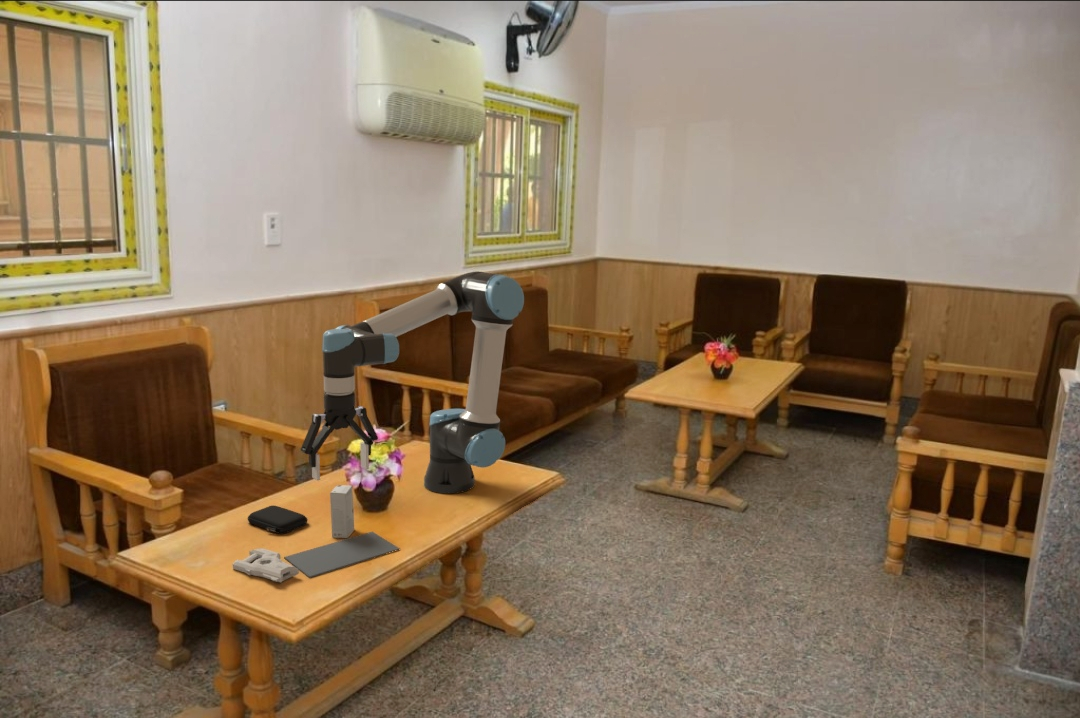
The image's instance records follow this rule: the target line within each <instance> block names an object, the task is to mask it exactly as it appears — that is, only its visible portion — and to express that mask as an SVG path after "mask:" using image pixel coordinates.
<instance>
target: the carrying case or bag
mask: <svg viewBox="0 0 1080 718" xmlns="http://www.w3.org/2000/svg"><path fill="white" fill-rule="evenodd" d="M247 521H248V522H249V524H252V525H254V526H256V527H259V528H262V529H265V530H266V531H267V532H273V533H276V534H281V535H282V534H283V535H284V534H287V533H289V532H292V531H295V530H297V529H299V528H302V527H304V526H305V525H306V524H307V523H308V522H309V521H308V517H306V515H304V514H302V513H299V512H298V511H293V510H290V509H288V508H285V507H280V506H278V505H269V506H266V507H264V508H261V509H258V510H256V511H253V512H251V513H250V514H249V515H248V516H247Z"/></svg>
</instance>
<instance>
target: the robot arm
mask: <svg viewBox="0 0 1080 718" xmlns="http://www.w3.org/2000/svg"><path fill="white" fill-rule="evenodd" d="M524 304H525V295H524V290H523V289H522V287H521V285H520V283H519V282H518V281H517V280H515V279H514V278H512V277H510V276H507V275H503V274H501V273H499V274H496V273H489V272H484V271H470V272H467V273H464V274H461V275H458V276H456V277H453V278H451V279H448V280H446V281H444V282H441V283H439V284H438V285H437V287H436V288H435V290H433V291H429V292H428V293H425V294H423V295H421V296H418V297H415V298H413V299H412V300H409V301H407V302H404V303H402V304H400V305H397V306H396V307H393V308H390V309H388V310H386V311H383V312H382V313H379V314H376V315H375V316H372V317H370V318H367V319H366V320H363V321H361V322H358V323H356V324H353V325H349V324H347V325H342V324H341V325H339V326H337V327H335V328H334V329H333V328H332V329H328V330H326V331H325V332H324V333H323V334H322V348H321V351H322V364H323V365H322V367H323V391H324V393H323V406H324V412H323V413H322V414H317V413H313V414H312V416H311V423H310V426H309V428H308V429H307V430H308V431H307V433H306V435H305V438H304V440H303V442H302V445H301V447H300V452H302V453H303V454H305V455H308V466H309V467H310V468H311V477H312V479H314V480H316V481H321V463H320V461H321V460H320V453H318V452H319V450H320V449H321V448H322V446H323V444H324V443H326V440H327V439H328V437H329V435H330V434H331V433H333V431H334V430H336V431H338V430H340V429H347V428H348V427H350V428H351V429H352V430H353V432H354V433H355V434H356V435H357V436H358V437H359V438H360V439H361V441H363V442H360V468H362V469H365V470H366V471H367V470H369V468H370V467H369V466H370V465H369V463H370V462H369V461H370V460H369V457H370V456H371V455H372V445H373V444H374V442H375V441H378V439H379V436H378V434H377V432H376V431H375V428H374V426H373V424H372V422H371V420H370V419H369V416H368V414H367V412H368V411H367V408H366V407H364V406H361V405H358V406H357V407H356V393H355V392H354V391H355V390H356V388H355V387H356V382H355V380H356V379H355V370H356V369H355V367H363V366H373V365H381V364H382V365H384V364H388V363H394V362H395V361H397V359H398V358H399V354H400V344H399V340H398V339H397V337H399V336H401V335H403V334H406V333H407V332H410V331H413V330H415V329H416V328H419V327H422V326H423V325H426V324H428V323H430V322H432V321H435V320H436V319H439V318H441V317H443V316H446V315H449V316H454V315H457V314H459V313H464V312H471V321H472V323H473V324H474V326H475V333H474V339H473V341H474V342H473V348H472V349H473V350H472V356H471V365H470V372H469V380H468V388H467V395H466V396H467V397H466V405H465V408H447V409H441V410H439V409H438V410H436V411H434V412H432V413H431V414H430V416H429V424H428V425H429V463H428V465H427V468H426V472H425V475H424V478H423V486H424V488H425V489H426V490H428V491H431V492H434V493H440V494H458V493H457V492H459V493H463V492H462V491H464V492H467V491H469V490H468V489H470V488H471V489H473V488H474V487H475V485H474V484H476V482H475V481H476V480H475V479H476V478H475V475H474V471H473V468H472V466H475V467H476V468H477V467H478V468H481V469H482V468H484V469H485V468H488V467H491V466H492V465H493V466H494V464H496V462H497V461H499V460H500V458H501V457H502V455H503V453H504V451H505V449H506V439H505V436H504V435H503V432H501V430H500V424H501V418H499V416H498V415H497V408H498V407H497V406H498V398H499V391H500V384H501V375H502V368H503V366H502V365H503V358H504V352H505V345H506V337H507V331H508V329H510V328H511V327H512V326H513V325H514V324H513V323H514V319H515V318H517V317H518V316H519V313H522V310H523V307H524ZM355 407H356V408H355ZM356 415H357V416H358V418H359V420H360V422H361V424H362V426H363V427H364V430H365V431H366V432H364V431H363V429H362V428H361V427H360V426H359V425H358V423H357V422H356V421H355V420H354V418H356ZM323 421H325V422H323ZM321 425H322V427H321ZM320 428H321V429H320ZM473 486H474V487H473ZM472 487H473V488H472ZM471 489H470V490H471ZM466 490H467V491H466Z"/></svg>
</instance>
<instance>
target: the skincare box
mask: <svg viewBox="0 0 1080 718" xmlns="http://www.w3.org/2000/svg"><path fill="white" fill-rule="evenodd" d="M329 498H330V499H329V500H330V502H329V503H330V517H331V519H330V522H331V523H330V524H331V538H335V539H348V538H350V536H351V534H352V533H353V532H354V530H355V514H354V512H355V511H354V492H353V485H349V484H348V485H343V484H338V485H336V486H335V487H333V488H332V491H330V493H329Z"/></svg>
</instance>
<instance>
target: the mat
mask: <svg viewBox="0 0 1080 718" xmlns="http://www.w3.org/2000/svg"><path fill="white" fill-rule="evenodd" d="M399 549H400V547H398V546H396V545H395V544H394V543H392V542H390V541H388V540H387V539H385V538H384V537H382V536H381V535H379V534H377V533H375V532H374V531H369V532H366V533H363V534H359V535H356V536H352V537H348V538H344V539H343V540H338V541H334V542H331V543H328V544H324V545H322V546H318V547H314V548H311V549H310V548H309V549H307V550H304V551H300V552H296V553H294V554H290V555H286V556H284V559H285V560H286V561H287V562H288V564H290V565H292V566H294V567H296V568H298V569H299V572H301V573H302V574H304V576H306V577H308V579H312V578H314V577H317V576H320V575H324V574H327V573H329V572H333V571H337V570H340V569H343V568H347V567H349V566H353V565H357V564H359V563H363V562H366V561H369V560H372V559H375V558H379V557H382V556H384V555H383V554H385V555H387V554H386V553H388V554H390V553H389V552H391V553H393V552H392V551H395V550H398V551H400V550H401V549H400V550H399ZM395 552H396V551H395ZM381 555H382V556H381ZM378 556H379V557H378ZM374 557H375V558H374Z"/></svg>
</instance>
